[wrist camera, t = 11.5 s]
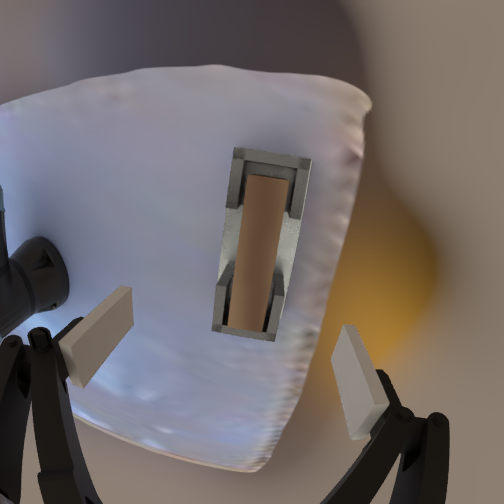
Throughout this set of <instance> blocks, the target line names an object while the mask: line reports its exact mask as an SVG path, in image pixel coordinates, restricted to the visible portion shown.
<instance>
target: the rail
mask: <svg viewBox="0 0 504 504" xmlns="http://www.w3.org/2000/svg"><path fill="white" fill-rule="evenodd" d="M288 185H289V180H287V179H283V178H277V177H271V176H264V175H258V174H248V177H247V184H246V191H245V198H244V205H243V212H242V219H241V227H240V234H239V241H238V248H237V256H236V263H235V271H234V279H233V286H232V294H231V302H230V310H229V318H228V326H227V327H231V328H236V329H242V330H248V331H254V332H260V333H262V329H263V324H264V319H265V314H266V309H267V304H268V298H269V293H270V288H271V283H272V277H273V272H274V266H275V261H276V255H277V250H278V244H279V239H280V233H281V227H282V221H283V216H284V210H285V204H286V198H287V192H288Z"/></svg>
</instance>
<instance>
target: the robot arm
mask: <svg viewBox="0 0 504 504" xmlns="http://www.w3.org/2000/svg"><path fill="white" fill-rule="evenodd" d="M4 212H5V208H4V203H3V189H2V187H1V185H0V341H1V340H2V338H4V337H5V336H6V335H7V334H9V333H10V332H11V331H12V330H14V329H15V328H16V327H18V326H19V325H20V324H21V323H23V322H24V321H25V320H27V319H28V318H29V317H31V316H32V315H33V314H36V313H41V312H46V311H51V310H54V309H56V308H58V307H59V306H61V305H62V304H63V303H64V302H65V301H66V299H67V297H68V292H69V281H68V275H67V271H66V268H65V265H64V262H63V260H62V258H61V256H60V254H59V253H58V251H57V250H56V248H55V247H54V246H53V245H52V244H51V243H50V242H49V241H48V240H46V239H45V238H42V237H34V238H31V239H29V240H27V241H25V242H24V243H23V244H22V245H21V246H20V247H19V248H18V249H17V250H16V251H15V252H14V253H13V254H12V255H11V256H10V257H9V258H8V251H7V243H6V232H5V215H4ZM133 325H134V321H133V306H132V288H130V287H126V286H122V285H121V286H120V287H119V288H118V289H117V290H115V291H114V292H113V293H112V294H111V295H110V296H108V297H107V298H106V299H105V300H104V301H103V302H102V303H100V304H99V305H98V306H97V307H96V308H95V309H94V310H93V311H91V312H90V313H89V314H88V315H87V316H86V317H85V318H84V317H79V318H76V319H74V320H73V321H71V322H70V323H69V324H68V326H66V327H65V328H64V329H62V330H61V331H60V332H59V333H58V334H57V335H56V336H55V337H54V338H53V339H52V337H51V333H50V331H49V330H48V329H47V328H45V327H37V328H34V329H32V330H30V331H29V332H28V335H27V336H28V340H29V343H30V346H29V345H24V344H23V342H22V339H21V337H19V336H17V335H10V336H8V337H6V338H5V339H4V340H3V342H2V344H1V346H0V504H20V497H21V474H22V473H21V472H22V458H23V449H24V439H25V433H26V426H27V420H28V415H29V410H30V404H31V400H32V411H33V412H32V413H33V423H34V432H35V440H36V446H37V452H38V458H39V463H40V468H41V472H39V473H38V475H37V477H38V483H39V487H40V490H41V494H42V498H43V501H44V504H103V503H102V501H101V500H100V498H99V497H98V495H97V493H96V490H95V488H94V485H93V483H92V480H91V477H90V475H89V472H88V469H87V466H86V463H85V460H84V457H83V453H82V450H81V447H80V443H79V440H78V436H77V432H76V428H75V424H74V420H73V415H72V410H71V405H70V400H69V394H68V388H67V383H66V379H67V377H68V376H69V377H70V380H71V383H72V384H74V385H76V386H78V387H80V388H82V389H84V387H85V386H86V385H87V383H88V382H89V381H90V379H91V378H92V377H93V375H94V374H95V373H96V372H97V370H98V369H99V368H100V366H101V365H102V364H103V362H104V361H105V360H106V359H107V357H108V356H109V355H110V354H111V352H112V351H113V350H114V348H115V347H116V346H117V345H118V343H119V342H120V341H121V340H122V338H123V337H124V336H125V335H126V333H127V332H128V331H129V330H130V329H131V327H132V326H133ZM331 362H332V366H333V369H334V373H335V378H336V381H337V385H338V389H339V393H340V397H341V401H342V406H343V410H344V414H345V418H346V422H347V427H348V431H349V436H350V440H361V439H365V438H366V436H367V435H368V434H369V433H370V435H371V440H370V441H369V442H368V443H367V445H366V446H365V447H364V448H363V451H362V452H361V454H360V455H359V457H358V458H357V459H356V461H355V462H354V463H353V465H352V466H351V468H350V469H349V470H348V471H347V473H346V474H345V475H344V476H343V478H342V479H341V480H340V481H339V483H338V484H337V485H336V486H335V487H334V489H332V491H331V492H330V493H329V494H328V495H327V496H326V498H325V499H324V500H323V501H322V502H321V503H320V504H370V502H371V501H372V499H373V498H374V496H375V494H376V493H377V492H378V490H379V488H380V487H381V485H382V483H383V482H384V480H385V479H386V477H387V475H388V473H389V472H390V470H391V468H392V466H393V464H394V463H395V461H396V459H397V457H398V455H399V453H401V458H400V464H399V468H398V472H397V476H396V481H395V485H394V488H393V492H392V496H391V499H390V503H389V504H445V500H446V493H447V484H448V472H449V448H450V447H449V446H450V442H449V441H450V435H449V434H450V433H449V421H448V419H447V417H446V416H445V415H443V414H442V413H439V412H434V413H432V414H430V415H429V416H428V418H427V419H426V418H420V417H415V416H414V413H413V412H412V411H411V410H410V409H408V408H406V407H403V406H402V405H401V403H400V401H399V398H398V396H397V394H396V392H395V389H393V385H392V384H391V381H390V379H389V376H388V375H387V374H386V373H385V372H384V371H383V370H380V369H375V368H374V366H373V363H372V361H371V359H370V357H369V354H368V352H367V350H366V348H365V346H364V344H363V342H362V339H361V337H360V335H359V333H358V331H357V329H356V327H355V325H346V324H344V325H343V328H342V330H341V333H340V336H339V338H338V341H337V344H336V347H335V349H334V352H333V354H332V357H331Z"/></svg>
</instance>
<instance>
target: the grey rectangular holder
mask: <svg viewBox="0 0 504 504" xmlns="http://www.w3.org/2000/svg"><path fill="white" fill-rule="evenodd" d="M311 165H312V159H307V158H301V157H296V156H291V155H285V154H279V153H273V152H266V151H260V150H252V149H245V148H237V147H234V152H233V159H232V165H231V172H230V179H229V186H228V194H227V201H226V208H227V209H226V216H225V224H224V232H223V240H222V248H221V256H220V265H219V274H218V283H217V285H216V292H215V302H214V312H213V322H212V331H215V332H220V333H225V334H231V335H236V336H242V337H247V338H253V339H259V340H266V341H272V342H274V341H275V337H276V333H277V329H278V324H279V320H280V318H281V316H282V312H283V308H284V303H285V299H286V294H287V290H288V285H289V281H290V276H291V271H292V266H293V262H294V257H295V252H296V247H297V242H298V237H299V232H300V227H301V221H302V216H303V211H304V205H305V200H306V194H307V188H308V183H309V177H310V171H311ZM248 174H258V175H264V176H271V177H277V178H283V179H287V180H289V185H288V192H287V198H286V204H285V210H284V216H283V221H282V227H281V233H280V239H279V244H278V250H277V255H276V261H275V266H274V272H273V277H272V283H271V288H270V293H269V298H268V304H267V309H266V314H265V319H264V324H263V329H262V333H260V332H254V331H248V330H242V329H236V328H231V327H227V326H228V318H229V310H230V302H231V294H232V286H233V279H234V271H235V263H236V256H237V248H238V241H239V234H240V227H241V219H242V212H243V205H244V198H245V191H246V184H247V177H248Z"/></svg>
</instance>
